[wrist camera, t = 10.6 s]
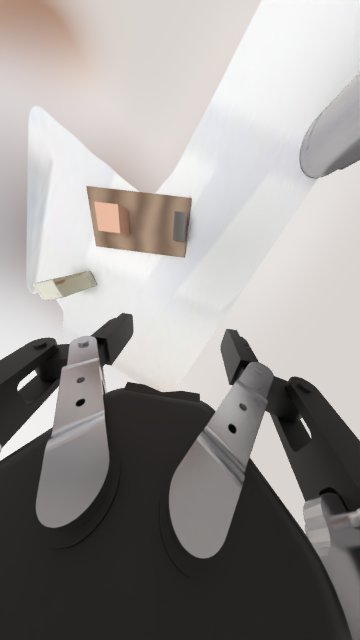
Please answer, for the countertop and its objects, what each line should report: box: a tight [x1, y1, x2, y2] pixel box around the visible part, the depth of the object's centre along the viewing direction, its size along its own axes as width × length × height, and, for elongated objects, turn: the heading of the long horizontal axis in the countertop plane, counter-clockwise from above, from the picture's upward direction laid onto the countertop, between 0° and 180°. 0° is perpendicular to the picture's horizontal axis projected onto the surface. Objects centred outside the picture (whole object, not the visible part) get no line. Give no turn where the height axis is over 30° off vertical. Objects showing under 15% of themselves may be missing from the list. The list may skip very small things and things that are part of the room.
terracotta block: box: [94, 202, 130, 235], centre depth 31 cm, size 5×5×5 cm
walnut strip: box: [86, 186, 191, 257], centre depth 31 cm, size 24×12×6 cm, turn 84°
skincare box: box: [32, 271, 96, 301], centre depth 37 cm, size 6×4×12 cm
